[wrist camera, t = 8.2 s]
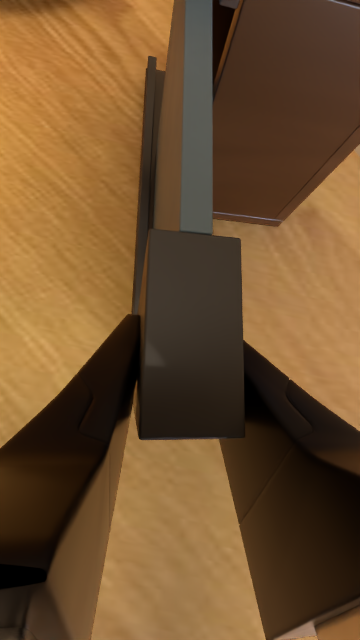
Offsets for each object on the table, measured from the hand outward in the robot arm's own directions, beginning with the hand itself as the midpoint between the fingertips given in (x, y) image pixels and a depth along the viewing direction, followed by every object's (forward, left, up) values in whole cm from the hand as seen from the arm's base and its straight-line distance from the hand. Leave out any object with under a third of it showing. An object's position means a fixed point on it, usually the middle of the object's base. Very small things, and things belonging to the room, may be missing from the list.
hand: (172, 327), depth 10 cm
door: (+4, -3, -7) cm, 9 cm away
